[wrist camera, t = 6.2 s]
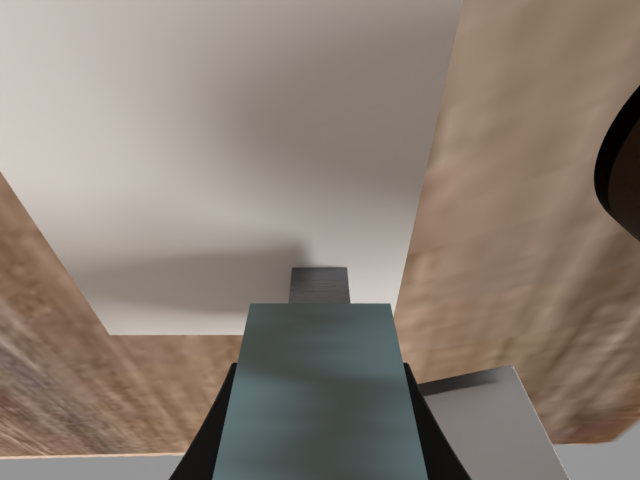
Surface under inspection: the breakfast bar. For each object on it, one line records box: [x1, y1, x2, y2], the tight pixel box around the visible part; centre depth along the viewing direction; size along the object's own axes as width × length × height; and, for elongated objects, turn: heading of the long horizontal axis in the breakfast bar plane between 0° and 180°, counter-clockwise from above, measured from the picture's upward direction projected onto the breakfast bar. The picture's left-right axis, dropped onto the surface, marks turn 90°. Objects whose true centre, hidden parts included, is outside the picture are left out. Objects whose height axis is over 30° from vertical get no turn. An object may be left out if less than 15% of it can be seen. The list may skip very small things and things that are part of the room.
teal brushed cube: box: [212, 303, 428, 480], centre depth 11 cm, size 5×5×7 cm
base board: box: [0, 0, 463, 335], centre depth 14 cm, size 16×16×1 cm
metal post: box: [289, 267, 350, 303], centre depth 14 cm, size 3×3×5 cm
